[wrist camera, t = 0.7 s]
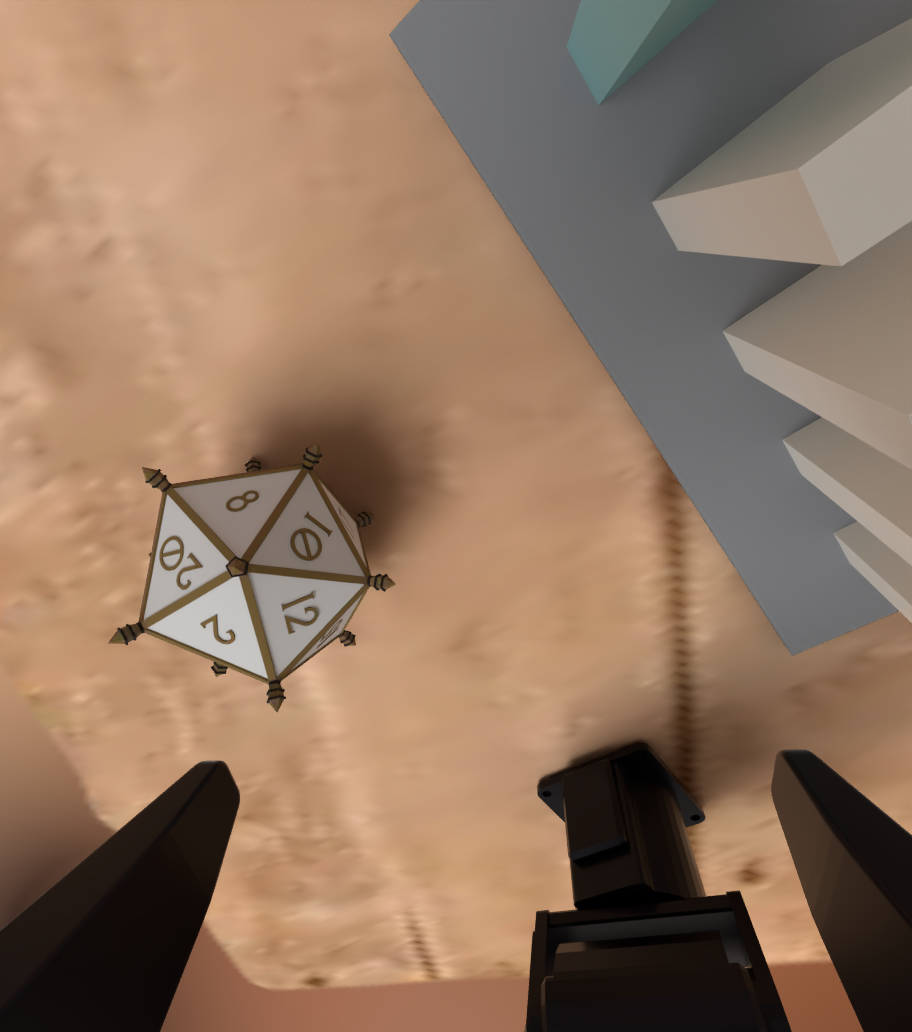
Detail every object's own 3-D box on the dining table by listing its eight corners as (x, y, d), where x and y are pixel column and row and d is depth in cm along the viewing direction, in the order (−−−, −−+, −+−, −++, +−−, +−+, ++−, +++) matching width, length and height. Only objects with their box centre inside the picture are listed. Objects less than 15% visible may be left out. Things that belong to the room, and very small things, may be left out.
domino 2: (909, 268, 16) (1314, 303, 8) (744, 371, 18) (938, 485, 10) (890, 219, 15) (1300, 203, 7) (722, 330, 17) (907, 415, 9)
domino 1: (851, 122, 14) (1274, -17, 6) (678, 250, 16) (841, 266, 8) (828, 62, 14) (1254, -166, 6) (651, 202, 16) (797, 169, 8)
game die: (295, 495, 26) (60, 590, 20) (333, 361, 20) (7, 437, 14) (407, 641, 24) (184, 800, 18) (488, 543, 18) (190, 734, 11)
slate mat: (1124, 500, 19) (1142, 508, 18) (785, 646, 23) (792, 655, 23) (840, -452, 11) (857, -488, 10) (393, 41, 15) (389, 34, 14)
